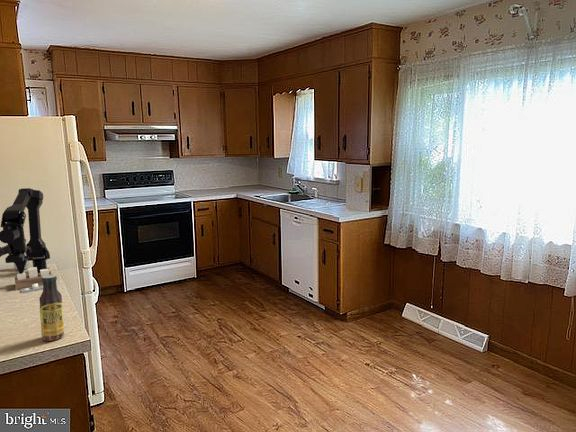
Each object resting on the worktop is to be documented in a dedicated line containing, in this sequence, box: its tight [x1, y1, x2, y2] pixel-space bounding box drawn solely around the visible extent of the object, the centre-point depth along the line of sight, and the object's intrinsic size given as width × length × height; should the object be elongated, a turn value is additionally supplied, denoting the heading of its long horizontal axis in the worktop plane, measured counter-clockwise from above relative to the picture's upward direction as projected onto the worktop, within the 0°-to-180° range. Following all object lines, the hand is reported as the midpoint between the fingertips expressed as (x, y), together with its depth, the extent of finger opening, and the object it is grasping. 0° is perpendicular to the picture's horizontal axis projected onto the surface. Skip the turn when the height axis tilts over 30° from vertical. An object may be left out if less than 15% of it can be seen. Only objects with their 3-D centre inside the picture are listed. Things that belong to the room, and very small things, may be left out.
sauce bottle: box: [39, 274, 65, 342], centre depth 133 cm, size 6×6×20 cm
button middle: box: [27, 266, 38, 278], centre depth 189 cm, size 3×3×5 cm
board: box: [14, 270, 53, 291], centre depth 190 cm, size 10×14×4 cm
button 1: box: [16, 271, 27, 280], centre depth 187 cm, size 3×3×5 cm
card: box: [20, 283, 43, 294], centre depth 183 cm, size 4×10×2 cm, turn 123°
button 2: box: [40, 268, 50, 276], centre depth 192 cm, size 3×3×5 cm
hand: (21, 273), depth 187 cm, fingers closed, pressing on button 1
